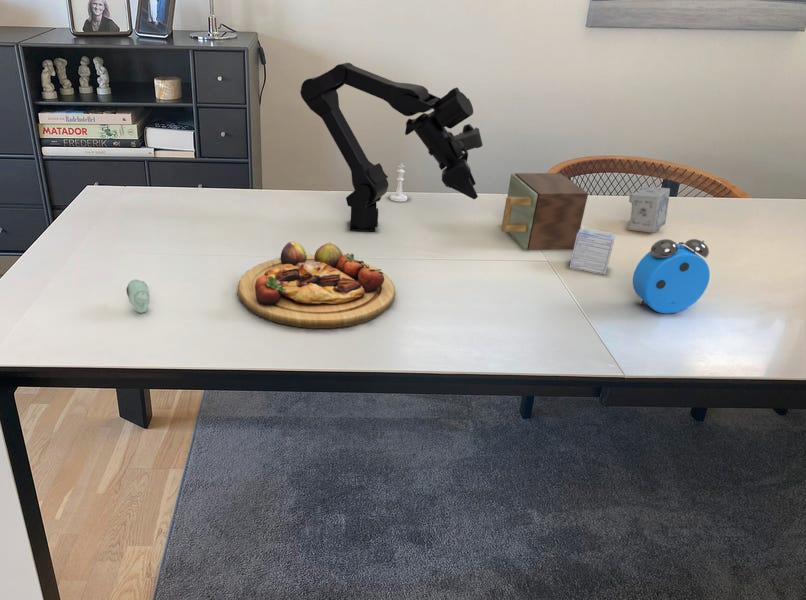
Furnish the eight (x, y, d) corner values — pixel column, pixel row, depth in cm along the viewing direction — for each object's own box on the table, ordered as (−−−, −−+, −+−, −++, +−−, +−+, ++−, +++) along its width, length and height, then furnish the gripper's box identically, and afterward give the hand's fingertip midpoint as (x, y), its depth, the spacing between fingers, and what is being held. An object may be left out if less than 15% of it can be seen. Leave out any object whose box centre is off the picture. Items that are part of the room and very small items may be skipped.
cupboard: (528, 250, 169) (539, 193, 161) (505, 226, 182) (515, 173, 175) (575, 249, 170) (588, 193, 163) (549, 226, 184) (560, 173, 176)
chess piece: (407, 202, 196) (411, 166, 191) (390, 201, 196) (393, 165, 191) (406, 196, 200) (410, 161, 195) (389, 195, 200) (392, 160, 195)
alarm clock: (683, 301, 148) (705, 234, 140) (699, 315, 142) (723, 245, 135) (624, 302, 146) (643, 234, 138) (638, 316, 141) (659, 246, 133)
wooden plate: (275, 346, 125) (275, 304, 121) (216, 276, 149) (214, 240, 145) (425, 313, 138) (429, 274, 134) (348, 254, 162) (350, 220, 158)
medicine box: (607, 268, 161) (616, 232, 156) (604, 275, 158) (614, 239, 153) (572, 261, 164) (580, 226, 159) (568, 268, 160) (577, 232, 156)
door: (501, 250, 168) (510, 194, 161) (480, 226, 181) (488, 173, 174) (527, 249, 169) (538, 194, 161) (505, 226, 182) (514, 173, 175)
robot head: (152, 321, 131) (149, 288, 128) (130, 323, 130) (126, 290, 127) (149, 302, 138) (146, 270, 134) (128, 304, 137) (124, 272, 133)
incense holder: (633, 219, 191) (643, 182, 185) (664, 227, 186) (675, 189, 181) (620, 229, 184) (630, 190, 179) (652, 237, 180) (663, 197, 174)
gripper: (467, 126, 147) (508, 183, 153) (464, 105, 163) (501, 158, 168) (424, 158, 152) (465, 213, 157) (425, 135, 168) (462, 186, 173)
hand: (475, 191), depth 164 cm, fingers open, 9 cm apart
